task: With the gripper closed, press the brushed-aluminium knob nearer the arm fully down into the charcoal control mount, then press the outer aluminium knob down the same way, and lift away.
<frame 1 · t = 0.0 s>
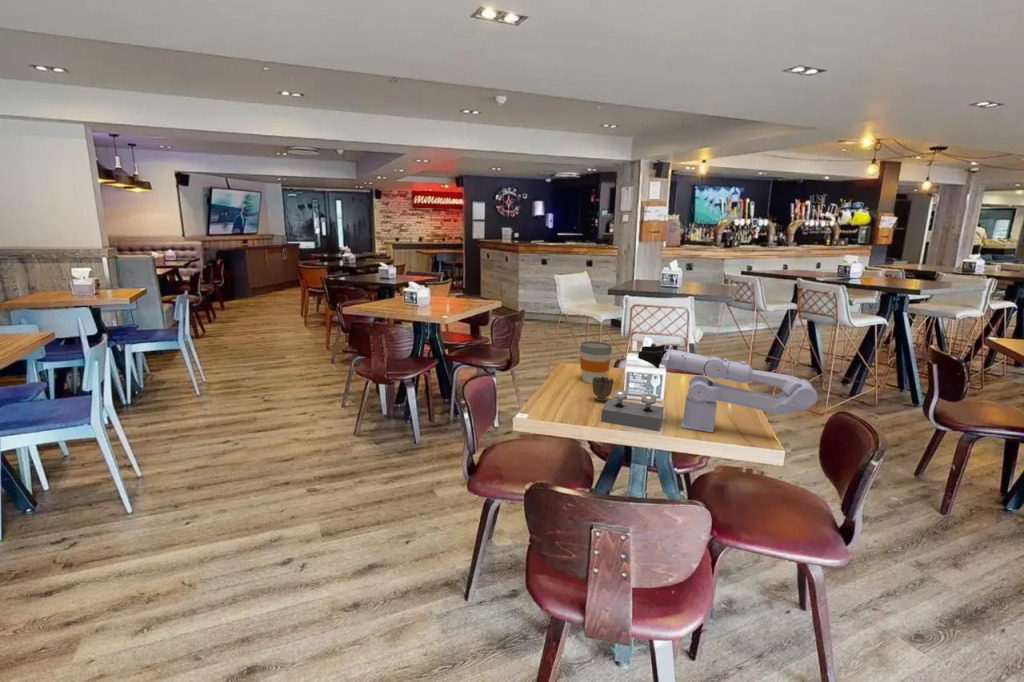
hand: (640, 352, 167), 22 cm above the table, tool horizontal, fingers open, 7 cm apart
knob outer: (619, 398, 168), point 6 cm above the table, slide at 0.0 cm
cup: (601, 401, 186), on the table
reusable coffee cup: (593, 381, 210), on the table
knob mount: (632, 420, 167), on the table
knob near: (648, 402, 165), point 7 cm above the table, slide at 0.0 cm
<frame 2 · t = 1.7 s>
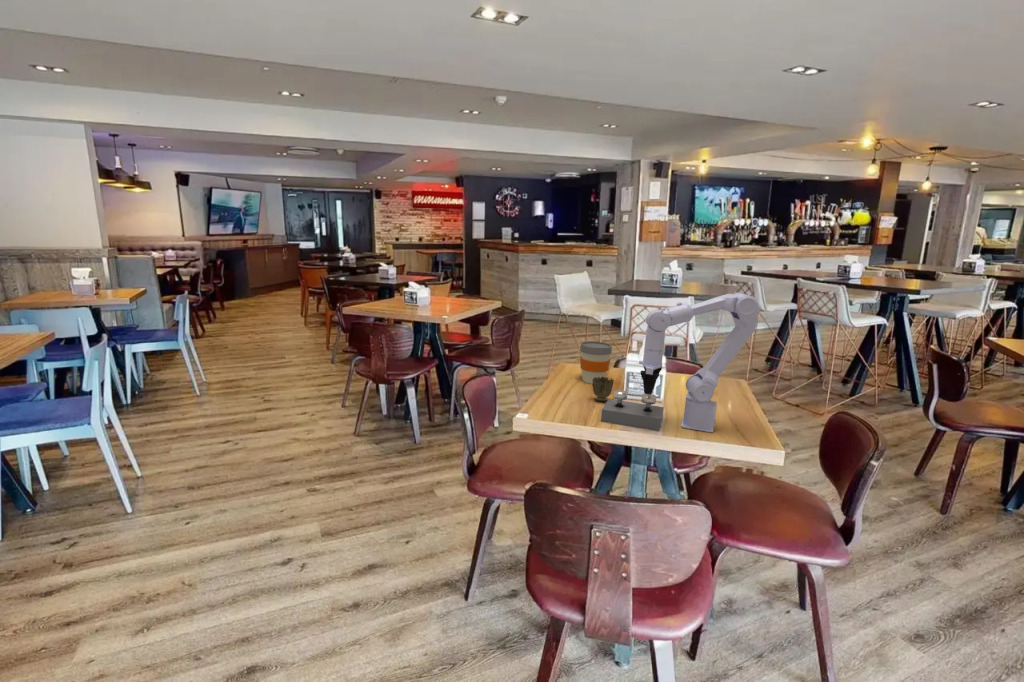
hand: (649, 391, 164), 10 cm above the table, tool pointing down, fingers open, 6 cm apart
nothing on the table moved.
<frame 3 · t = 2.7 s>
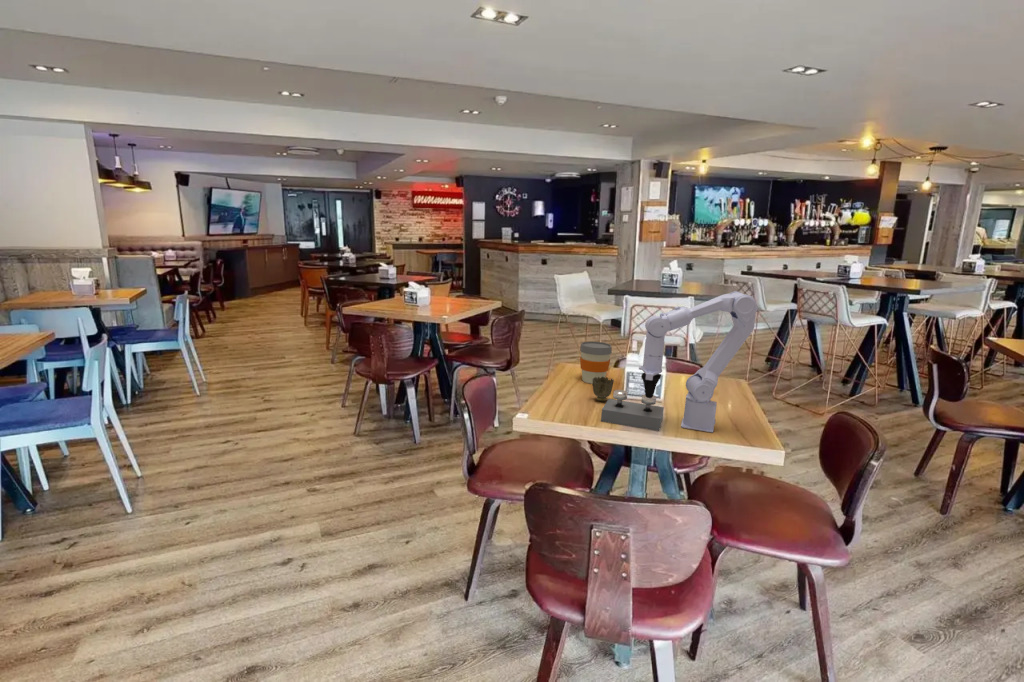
hand: (649, 396, 164), 9 cm above the table, tool pointing down, fingers closed, pressing on knob near
knob near: (648, 403, 165), point 6 cm above the table, slide at 0.2 cm, touching gripper
everything else where it was.
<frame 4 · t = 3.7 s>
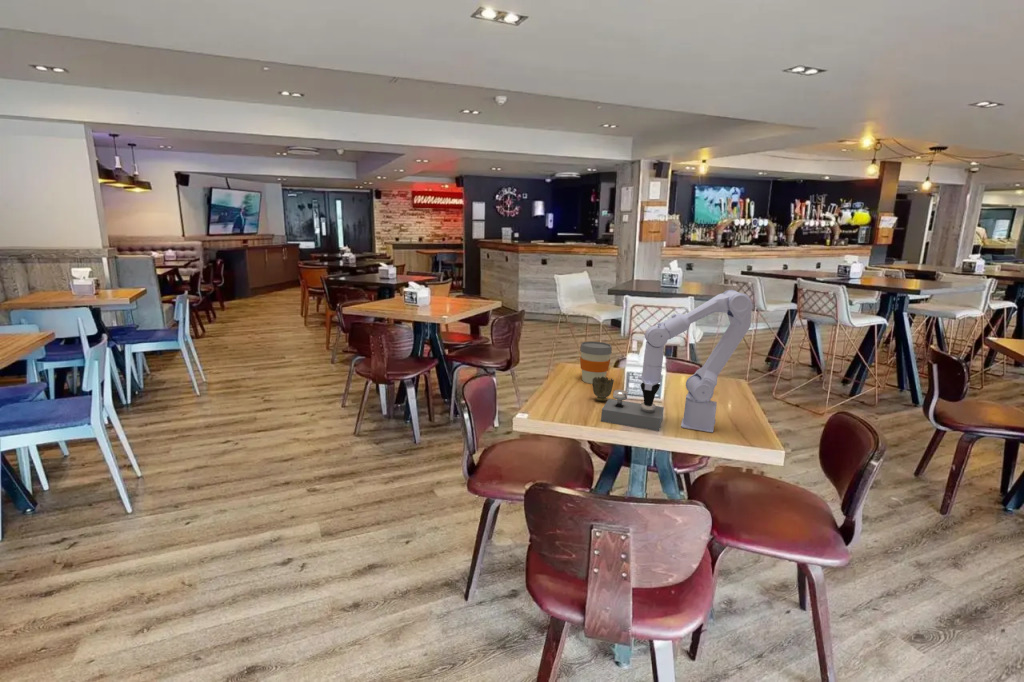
hand: (648, 406, 165), 5 cm above the table, tool pointing down, fingers closed, pressing on knob near
knob near: (647, 411, 165), point 4 cm above the table, slide at 2.8 cm, touching gripper, knob mount
everything else where it was.
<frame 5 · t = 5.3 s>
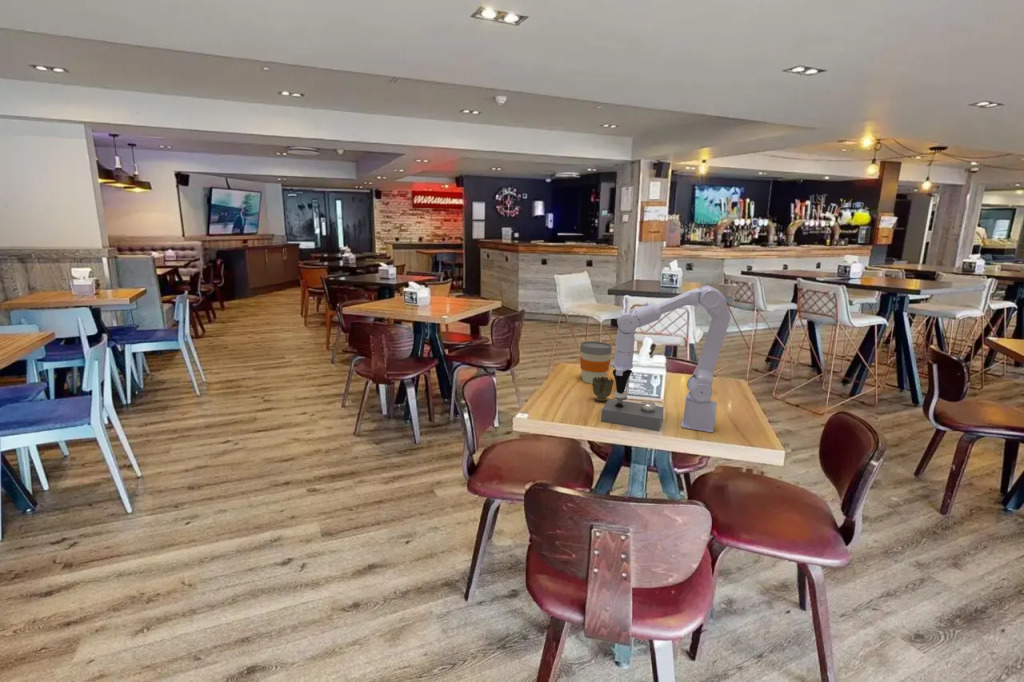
hand: (620, 392, 167), 9 cm above the table, tool pointing down, fingers closed, pressing on knob outer
knob outer: (619, 398, 168), point 6 cm above the table, slide at 0.1 cm, touching gripper
knob near: (647, 410, 165), point 4 cm above the table, slide at 2.6 cm
everything else where it was.
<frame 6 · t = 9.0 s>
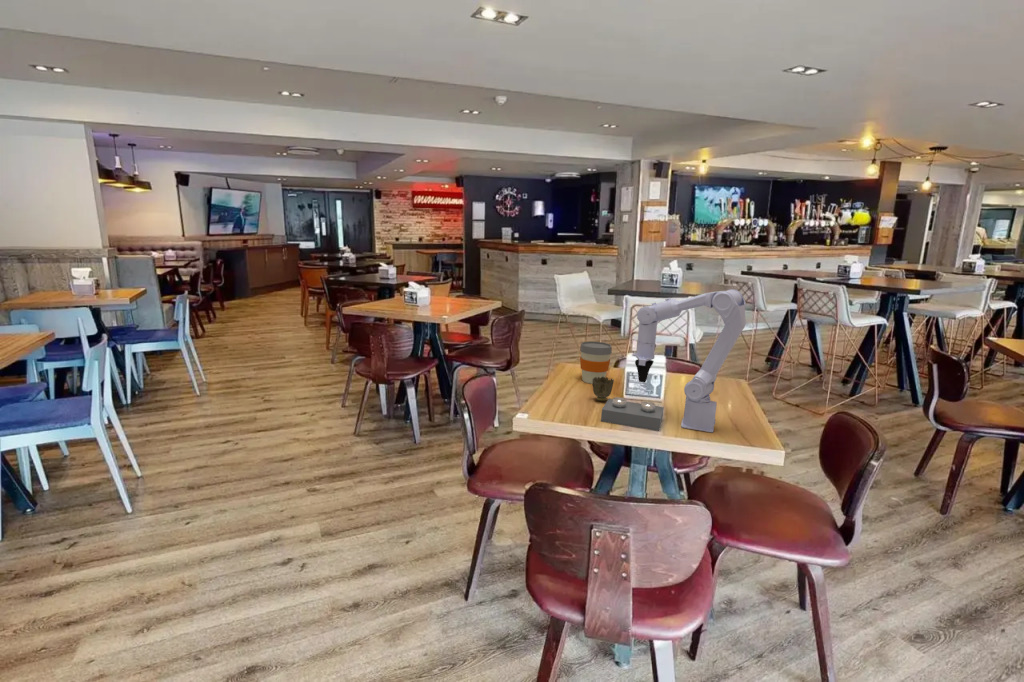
hand: (642, 381, 174), 10 cm above the table, tool pointing down, fingers closed
knob outer: (619, 406, 168), point 4 cm above the table, slide at 2.6 cm
everything else where it was.
at the end: knob near slide at 2.6 cm; knob outer slide at 2.6 cm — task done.
